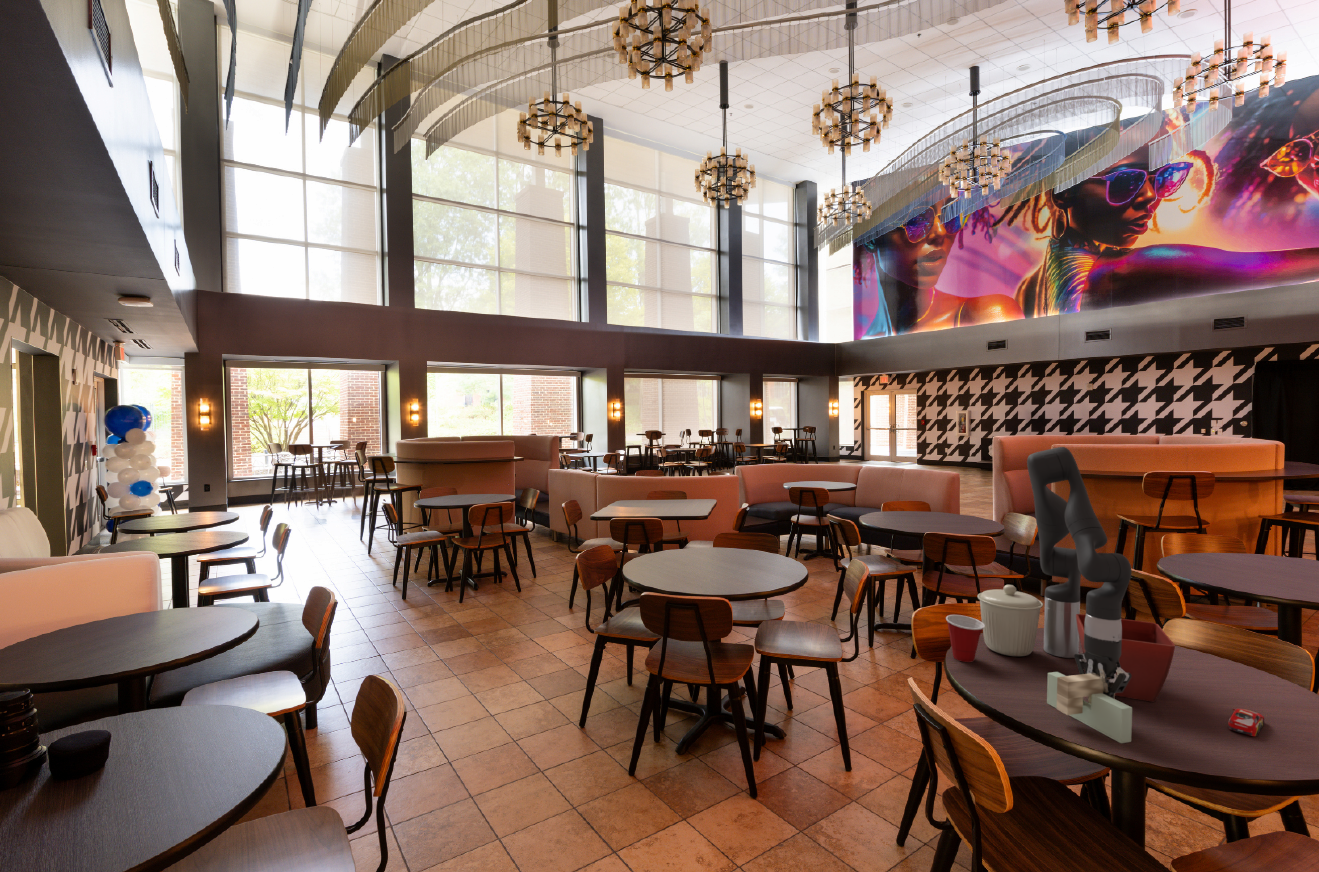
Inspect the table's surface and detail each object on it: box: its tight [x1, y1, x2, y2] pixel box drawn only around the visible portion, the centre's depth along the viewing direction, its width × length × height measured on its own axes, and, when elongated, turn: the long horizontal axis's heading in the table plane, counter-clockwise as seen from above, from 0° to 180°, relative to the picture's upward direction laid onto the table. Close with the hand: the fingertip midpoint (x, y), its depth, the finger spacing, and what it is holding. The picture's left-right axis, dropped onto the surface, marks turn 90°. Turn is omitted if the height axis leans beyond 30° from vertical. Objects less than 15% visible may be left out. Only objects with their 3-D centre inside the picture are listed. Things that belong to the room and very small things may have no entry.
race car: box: [1227, 708, 1265, 737], centre depth 148 cm, size 13×5×4 cm, turn 127°
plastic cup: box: [945, 614, 985, 663], centre depth 189 cm, size 11×11×12 cm
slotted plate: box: [1056, 673, 1115, 716], centre depth 150 cm, size 14×3×8 cm, turn 103°
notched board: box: [1046, 671, 1133, 744], centre depth 150 cm, size 20×3×8 cm, turn 13°
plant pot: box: [1076, 613, 1176, 703], centre depth 168 cm, size 19×19×17 cm
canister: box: [977, 584, 1044, 657], centre depth 195 cm, size 18×18×21 cm
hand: (1100, 702), depth 151 cm, fingers closed on slotted plate, 3 cm apart
